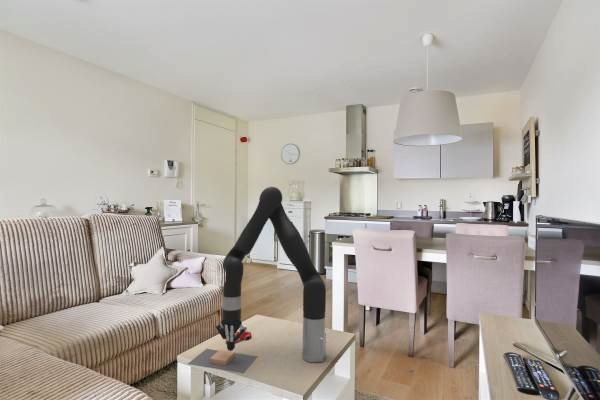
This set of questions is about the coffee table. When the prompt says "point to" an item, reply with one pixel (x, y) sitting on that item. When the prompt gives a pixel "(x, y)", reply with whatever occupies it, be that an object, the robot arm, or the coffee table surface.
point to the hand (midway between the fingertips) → (230, 349)
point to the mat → (236, 365)
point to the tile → (222, 357)
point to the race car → (243, 336)
